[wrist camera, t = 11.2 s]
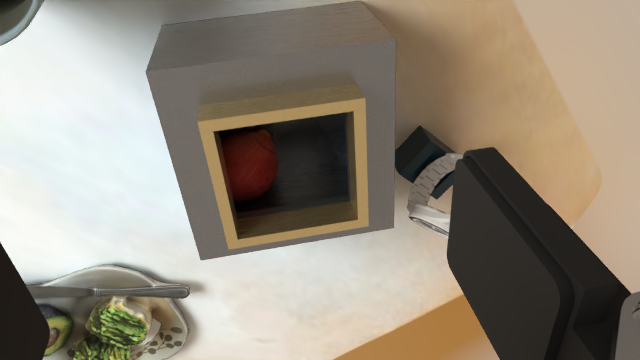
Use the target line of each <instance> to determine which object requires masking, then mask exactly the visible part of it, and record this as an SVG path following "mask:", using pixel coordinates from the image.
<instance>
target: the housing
mask: <svg viewBox="0 0 640 360" xmlns="http://www.w3.org/2000/svg"><path fill="white" fill-rule="evenodd" d="M146 75H147V78H148V82H149V85H150V88H151V92H152V95H153V99H154V102H155V106H156V109H157V112H158V116H159V119H160V123H161V126H162V129H163V133H164V136H165V140H166V143H167V147H168V150H169V153H170V157H171V160H172V164H173V167H174V170H175V174H176V177H177V181H178V184H179V188H180V191H181V194H182V198H183V201H184V205H185V208H186V211H187V215H188V218H189V222H190V225H191V229H192V232H193V235H194V239H195V242H196V246H197V249H198V252H199V256H200V259H201V260H206V259H212V258H218V257H224V256H230V255H236V254H242V253H248V252H254V251H260V250H265V249H271V248H277V247H283V246H289V245H295V244H301V243H307V242H313V241H319V240H325V239H331V238H337V237H343V236H348V235H354V234H360V233H366V232H372V231H378V230H384V229H390V228H394V174H395V90H396V38H395V37H394V36H393V35H392V34H391V33H390V32H389V31H388V30H387V29H386V28H385V26H384V25H383V24H382V23H381V22H380V21H379V20H378V19H377V18H376V17H375V16H374V15H373V14H372V13H371V12H370V10H369V9H368V8H367V7H366V6H365V5H364V4H363V3H362V2H361V1H355V2H347V3H339V4H331V5H323V6H315V7H306V8H298V9H290V10H282V11H274V12H266V13H258V14H250V15H242V16H234V17H225V18H217V19H209V20H201V21H193V22H185V23H177V24H169V25H162V27H161V30H160V33H159V35H158V38H157V41H156V44H155V47H154V50H153V52H152V55H151V58H150V61H149V64H148V67H147V69H146ZM258 130H265V131H267V132H268V133H270V135H271V137H272V141H273V144H274V147H275V151H276V154H277V159H278V170H277V175H276V178H275V180H274V181H273V183H272V185H271V187H270V188H269V189H268V190H267V191H266V192H265V193H264V194H263V195H261V196H260V197H258V198H256V199H253V200H251V201H246V202H239V203H234V199H233V195H232V190H231V185H230V181H229V176H228V172H227V167H226V163H225V158H224V154H223V149H222V144H221V140H222V139H224V138H226V137H228V136H230V135H231V134H236V133H241V132H252V131H258Z"/></svg>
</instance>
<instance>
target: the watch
mask: <svg viewBox="0 0 640 360" xmlns="http://www.w3.org/2000/svg"><path fill="white" fill-rule="evenodd" d="M463 155H464V154H458V153H455V152H454V151H453V150H451V149H450V148H449V147H447V146H446V145H445V144H443V143H442V142H441V141H440V140H438V139H437V138H436V137H434V136H433V135H432V134H430V133H429V132H428V131H426V130H425V129H424V128H423V127H421V126H419V127H418V128H417V129H416V130H415V131H414V132H413V133H412V134H411V135H410V137H409V138H408V139H407V140H406V141H405V142H404V143H403V144H402V145H401V146H400V147H399V148H398V149H397V150H396V151H395V167H396V169H397V171H398V173H399V174H400V175H401V176H403V177H404V178H406V179H407V180H409V181H410V182H412V183H413V186H412V188H411V190H410V194H409V198H408V201H409V202H408V205H407V209H408V211H409V212H410V214H409V216H408V217H409V218H410V219H411V220H412V221H414V222H415V223H417V224H418V225H420V226H422V227H423V228H425V229H427V230H429V231H431V232H433V233H435V234H437V235H440V236H442V237H445V238H447V239H448V236H449V226H450V214H446V213H444V212H442V211H440V210H438V209H436V208H433V207H430V206H427V202H428V200H429V197H430V195H431V196H432V197H434V198H435V199H438V198H439V197H440V196H441V195H442V194H443V193H444V192H445V191H446V190H447V189H448V188H449V187H450V186H452V185H453V184H454V173H455V164H456V161H457V160H458V159H463Z"/></svg>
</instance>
